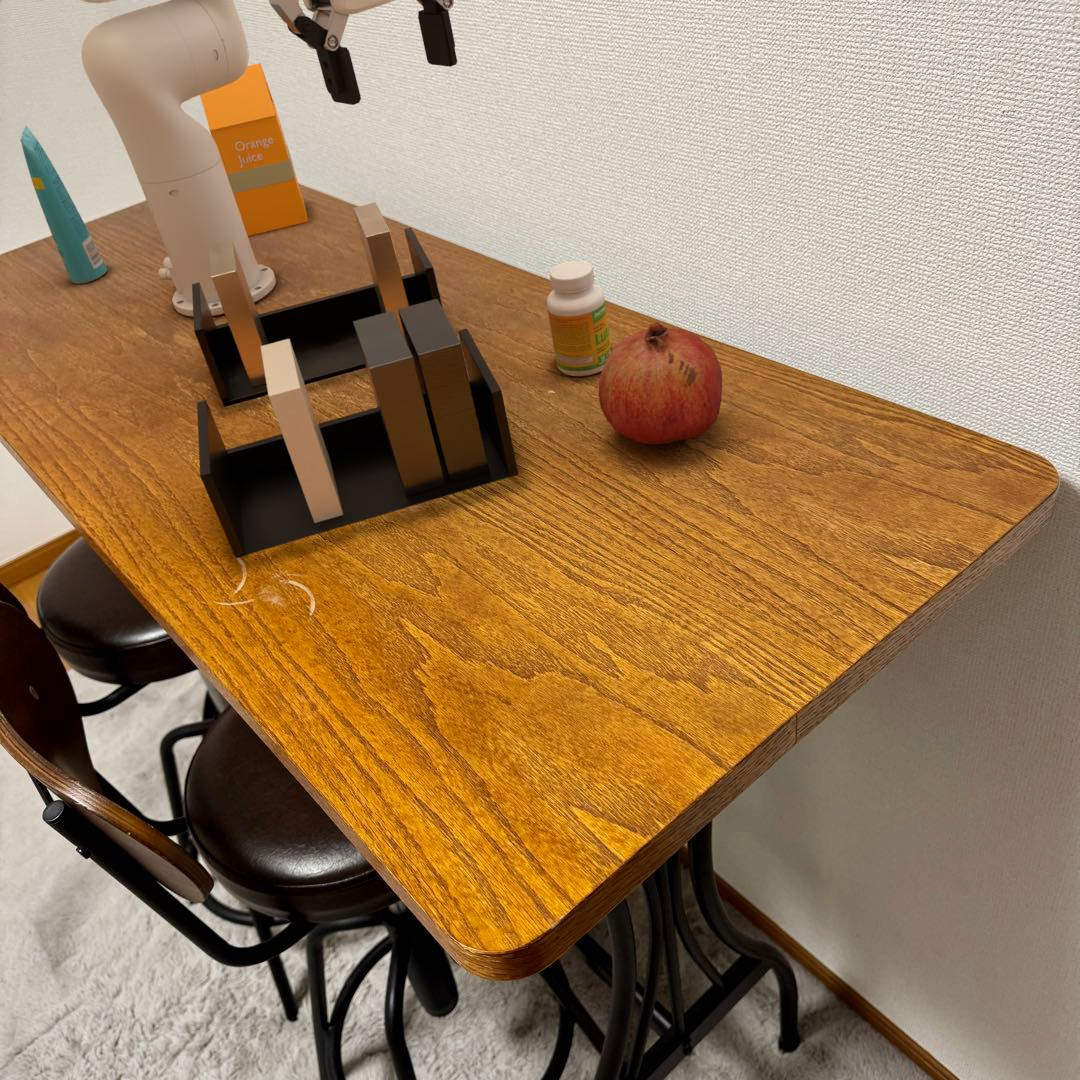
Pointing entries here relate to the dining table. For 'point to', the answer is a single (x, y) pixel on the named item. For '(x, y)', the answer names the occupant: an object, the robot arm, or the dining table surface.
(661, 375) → the fruit
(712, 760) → the dining table surface
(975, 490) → the dining table surface
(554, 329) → the supplement bottle
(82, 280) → the tube
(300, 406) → the long flat cream plank
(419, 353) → the black rack
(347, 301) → the brown and black frame
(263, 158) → the orange juice
